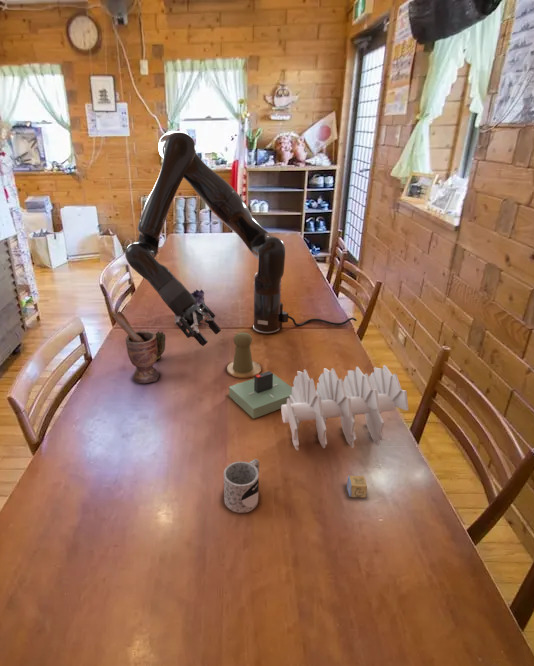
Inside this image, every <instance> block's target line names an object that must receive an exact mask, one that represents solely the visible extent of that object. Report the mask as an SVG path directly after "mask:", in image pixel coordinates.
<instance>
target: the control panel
mask: <svg viewBox="0 0 534 666" xmlns="http://www.w3.org/2000/svg"><path fill="white" fill-rule="evenodd" d="M292 387H293V386H291V385H289V384H288V383H286V381H284V380H282V379H281V378H280V377H279V376H277V374H275V373H273V388H271V389H268V390H265V391H263V392H260V393H257V392H255V391H254V378H251V379H248V380H246V381H242V382H239V383H235V384H233V385H230V386H228V397H229V398H230V399H232V401H234V402H235V403H236V404H237V405H238V406H239V407H240V408H241V409H242V410H243V411H244V412H245V413H246V414H247V415H249V417H251V418H252V420H254V419H257V418H259V417H262V416H265V415H268V414H270V413H273V412H276V411H278V410H281V405H285V404H287V398H289V400H290V397H289V395H292Z"/></svg>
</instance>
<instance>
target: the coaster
mask: <svg viewBox="0 0 534 666" xmlns="http://www.w3.org/2000/svg"><path fill="white" fill-rule="evenodd" d="M233 362H234V360H233V361H231V362H229V363H228V365H227V367H226V371H227V373H228V374H229V376H232V377H234V378H239V379H249V378H254V376H255V375H257V374H261V371H262V366H261V365H260V364H259V363H258V362H257V361H254V360H252V363H253V370H252V371H250V372H247V373H239V372H236V371H234V370H233Z"/></svg>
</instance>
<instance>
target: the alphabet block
mask: <svg viewBox="0 0 534 666" xmlns="http://www.w3.org/2000/svg"><path fill="white" fill-rule="evenodd" d="M346 490H347V493H348V496H349V498H366V496H367V491H368V484H367V482H366V479H365V476H364V475H348V476H347V482H346Z"/></svg>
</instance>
